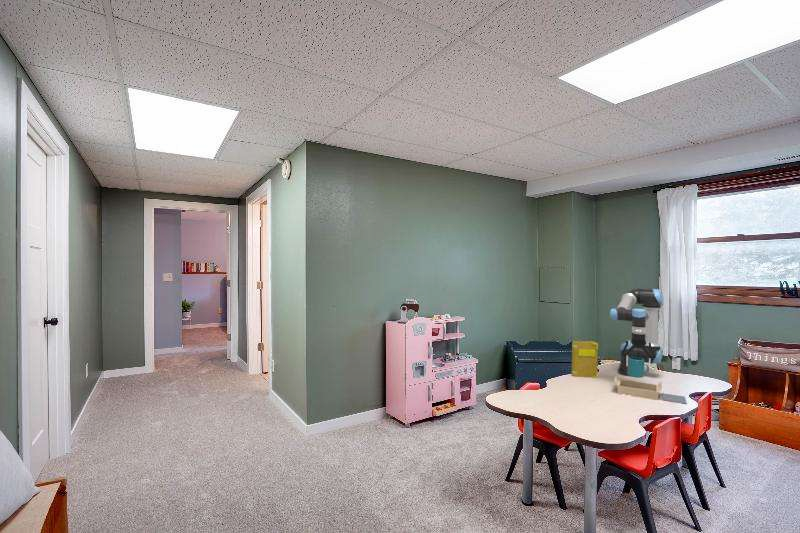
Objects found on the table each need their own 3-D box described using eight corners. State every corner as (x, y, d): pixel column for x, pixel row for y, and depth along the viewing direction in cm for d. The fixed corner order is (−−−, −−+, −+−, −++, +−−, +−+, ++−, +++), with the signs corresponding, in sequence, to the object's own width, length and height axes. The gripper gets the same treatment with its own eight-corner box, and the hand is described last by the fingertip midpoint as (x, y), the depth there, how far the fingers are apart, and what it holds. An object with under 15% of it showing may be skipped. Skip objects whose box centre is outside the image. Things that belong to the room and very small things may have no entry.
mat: (661, 393, 255) (661, 393, 255) (684, 397, 248) (684, 396, 248) (662, 400, 242) (662, 399, 242) (686, 404, 236) (686, 403, 236)
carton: (615, 386, 270) (615, 374, 269) (661, 393, 256) (661, 380, 256) (613, 393, 255) (614, 380, 255) (662, 400, 241) (662, 387, 241)
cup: (646, 379, 248) (647, 361, 248) (625, 375, 257) (625, 358, 256) (651, 377, 254) (651, 359, 254) (630, 373, 263) (630, 356, 263)
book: (594, 375, 296) (594, 341, 296) (597, 377, 290) (598, 343, 290) (570, 374, 298) (570, 340, 298) (573, 376, 291) (573, 342, 291)
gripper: (616, 332, 258) (616, 365, 258) (661, 336, 246) (660, 371, 246) (617, 330, 265) (617, 363, 265) (660, 334, 252) (660, 368, 252)
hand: (638, 367), depth 255 cm, fingers closed on cup, 12 cm apart
